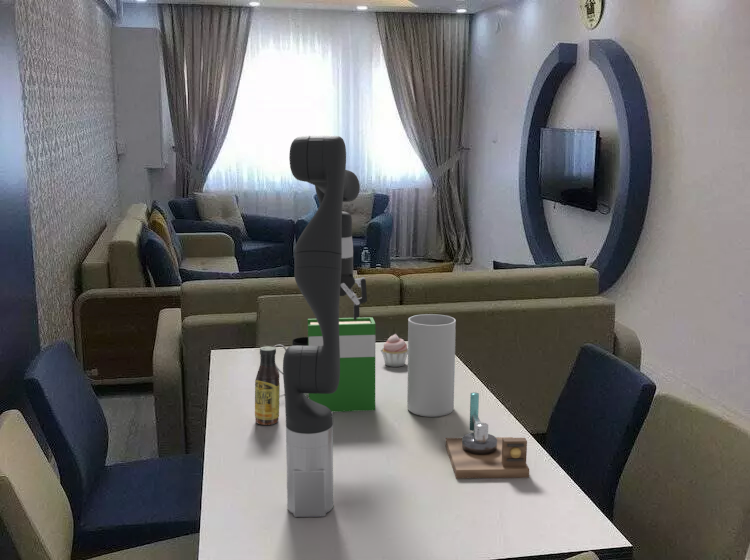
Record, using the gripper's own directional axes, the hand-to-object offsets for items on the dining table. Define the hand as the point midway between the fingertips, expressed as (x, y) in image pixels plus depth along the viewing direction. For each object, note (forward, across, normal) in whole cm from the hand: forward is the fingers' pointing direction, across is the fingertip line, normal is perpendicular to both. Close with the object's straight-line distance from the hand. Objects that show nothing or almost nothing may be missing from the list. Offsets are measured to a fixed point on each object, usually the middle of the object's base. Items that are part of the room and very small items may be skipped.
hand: (338, 319), depth 197 cm
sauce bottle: (+28, -18, +4) cm, 34 cm away
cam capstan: (+26, +32, -18) cm, 45 cm away
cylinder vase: (+28, +25, +11) cm, 39 cm away
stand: (+28, +33, -23) cm, 49 cm away
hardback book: (+28, +1, +15) cm, 32 cm away
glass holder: (+28, -12, +29) cm, 42 cm away
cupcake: (+28, +19, +54) cm, 63 cm away
